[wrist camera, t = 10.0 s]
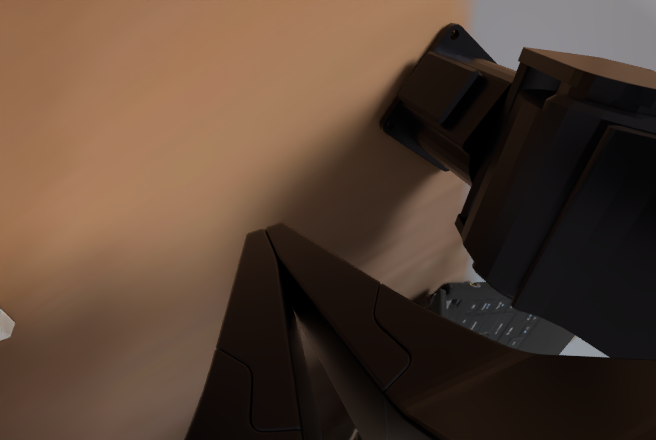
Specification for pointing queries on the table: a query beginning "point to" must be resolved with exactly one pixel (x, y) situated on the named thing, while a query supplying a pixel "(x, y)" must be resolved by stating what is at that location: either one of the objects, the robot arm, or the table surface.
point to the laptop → (498, 318)
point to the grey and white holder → (5, 325)
